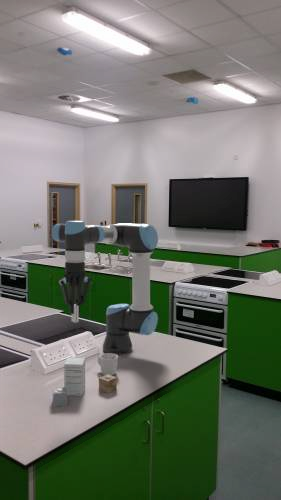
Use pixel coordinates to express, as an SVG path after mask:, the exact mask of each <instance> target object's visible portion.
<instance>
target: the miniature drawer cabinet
mask: <svg viewBox="0 0 281 500" xmlns="http://www.w3.org/2000/svg"><path fill="white" fill-rule="evenodd" d="M63 365H64V367H63V370H64V371H63V379H64V382H63V383H64V386H63V387H66V389H67V396H77V397H78V396H80V397H81V396H84V393H85V391H86V390H85V389H86V358H85V357H67V358H66V360H65V362H64V364H63Z"/></svg>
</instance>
